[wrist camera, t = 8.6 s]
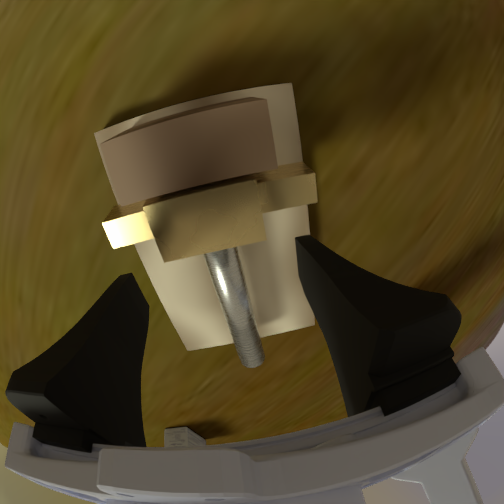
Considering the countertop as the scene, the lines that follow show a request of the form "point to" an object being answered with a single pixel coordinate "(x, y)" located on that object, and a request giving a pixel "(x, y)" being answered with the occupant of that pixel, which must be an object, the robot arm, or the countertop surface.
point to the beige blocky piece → (206, 171)
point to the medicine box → (182, 438)
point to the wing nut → (212, 212)
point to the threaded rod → (236, 304)
